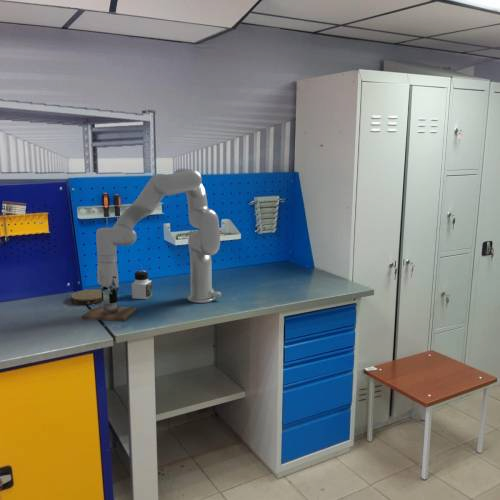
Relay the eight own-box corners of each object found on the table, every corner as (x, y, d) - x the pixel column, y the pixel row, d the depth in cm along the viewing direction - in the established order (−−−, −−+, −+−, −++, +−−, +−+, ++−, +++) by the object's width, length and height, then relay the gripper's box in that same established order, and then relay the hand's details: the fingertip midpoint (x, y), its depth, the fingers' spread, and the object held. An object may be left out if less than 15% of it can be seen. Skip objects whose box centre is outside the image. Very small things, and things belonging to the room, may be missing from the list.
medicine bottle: (146, 299, 234) (145, 274, 232) (131, 298, 236) (130, 273, 233) (152, 295, 241) (151, 270, 239) (138, 294, 242) (137, 269, 240)
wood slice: (70, 297, 238) (70, 291, 237) (106, 294, 243) (106, 288, 243) (71, 307, 223) (71, 300, 223) (109, 303, 229) (108, 297, 228)
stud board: (136, 309, 219) (136, 298, 218) (125, 321, 206) (124, 308, 205) (96, 308, 221) (95, 296, 220) (82, 319, 208) (81, 306, 207)
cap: (100, 302, 213) (100, 290, 212) (112, 299, 216) (112, 288, 215) (106, 305, 209) (106, 293, 208) (118, 302, 212) (118, 290, 211)
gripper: (88, 256, 212) (91, 298, 216) (108, 263, 200) (111, 307, 204) (105, 253, 217) (108, 294, 221) (126, 260, 205) (128, 303, 209)
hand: (109, 300), depth 212 cm, fingers open, 5 cm apart
